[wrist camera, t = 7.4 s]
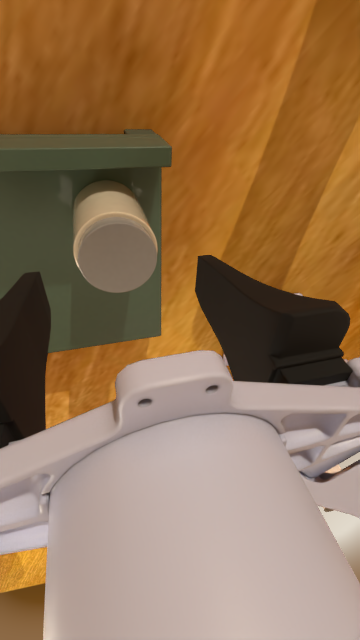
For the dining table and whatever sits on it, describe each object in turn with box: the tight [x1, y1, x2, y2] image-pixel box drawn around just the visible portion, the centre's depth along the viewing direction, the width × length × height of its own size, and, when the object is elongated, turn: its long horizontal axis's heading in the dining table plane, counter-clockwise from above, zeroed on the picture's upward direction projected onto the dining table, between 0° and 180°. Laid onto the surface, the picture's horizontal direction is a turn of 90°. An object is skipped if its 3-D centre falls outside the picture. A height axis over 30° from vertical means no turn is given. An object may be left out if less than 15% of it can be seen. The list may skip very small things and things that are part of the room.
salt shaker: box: [73, 180, 158, 293], centre depth 18 cm, size 4×4×6 cm
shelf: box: [0, 129, 172, 353], centre depth 22 cm, size 16×12×5 cm
